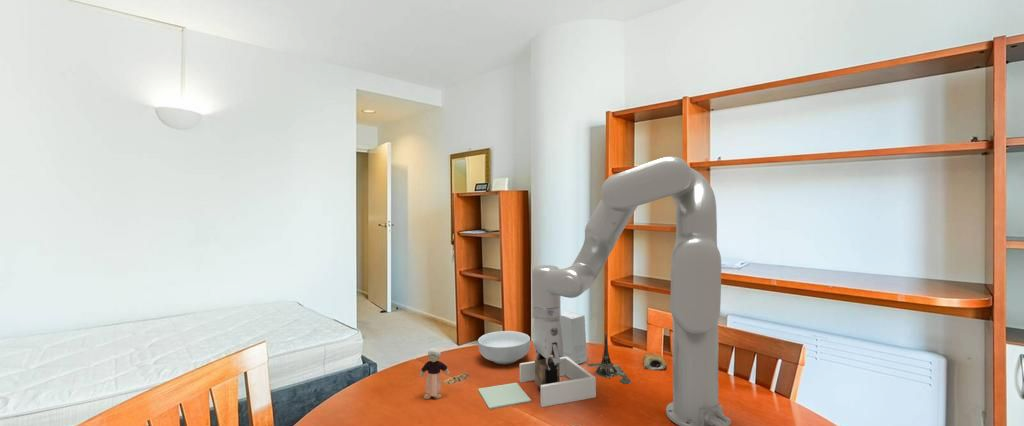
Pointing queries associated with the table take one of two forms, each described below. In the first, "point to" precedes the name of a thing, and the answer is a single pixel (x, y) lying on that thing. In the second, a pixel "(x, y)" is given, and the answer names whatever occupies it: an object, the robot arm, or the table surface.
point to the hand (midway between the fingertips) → (547, 379)
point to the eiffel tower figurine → (609, 367)
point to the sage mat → (503, 395)
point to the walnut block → (543, 372)
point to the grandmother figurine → (433, 374)
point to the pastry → (654, 361)
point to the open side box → (563, 383)
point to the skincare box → (574, 336)
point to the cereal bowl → (504, 346)
